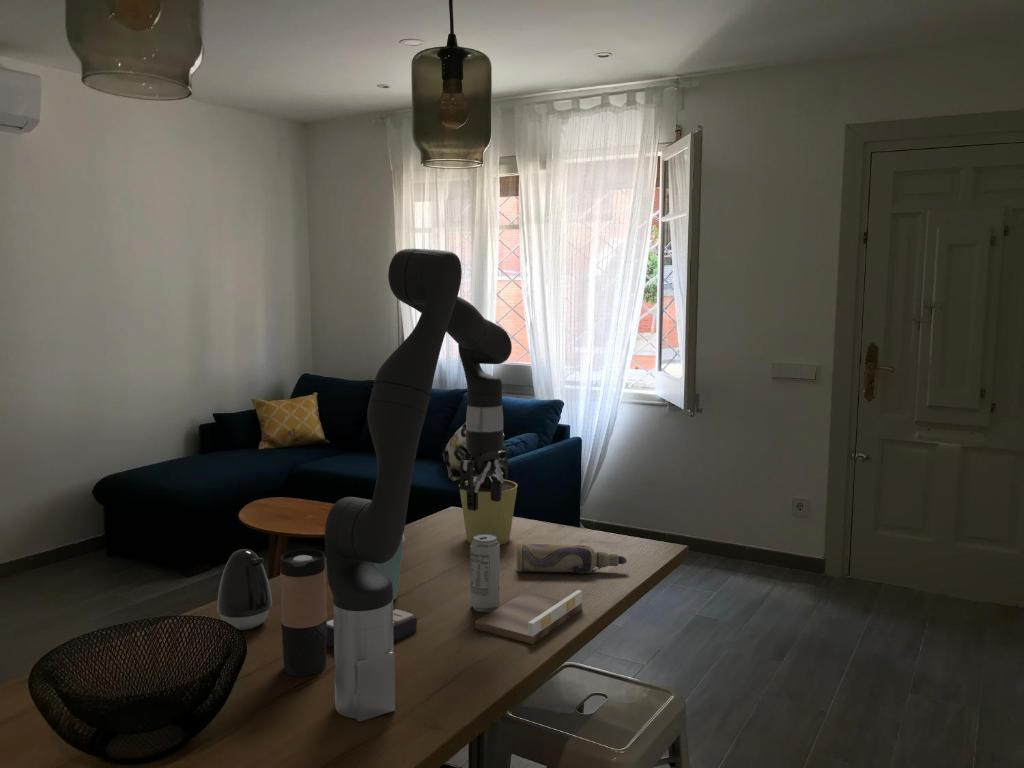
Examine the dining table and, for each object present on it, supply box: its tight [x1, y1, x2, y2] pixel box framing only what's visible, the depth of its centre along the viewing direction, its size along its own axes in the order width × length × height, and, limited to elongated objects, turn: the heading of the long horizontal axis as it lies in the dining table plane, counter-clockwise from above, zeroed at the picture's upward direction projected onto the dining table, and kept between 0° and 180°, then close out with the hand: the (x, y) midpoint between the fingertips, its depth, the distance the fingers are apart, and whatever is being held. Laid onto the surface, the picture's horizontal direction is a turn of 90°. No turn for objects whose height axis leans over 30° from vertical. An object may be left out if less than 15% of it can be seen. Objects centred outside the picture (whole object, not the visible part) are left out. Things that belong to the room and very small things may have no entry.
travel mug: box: [279, 548, 328, 677], centre depth 141 cm, size 8×8×20 cm
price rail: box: [528, 589, 583, 637], centre depth 160 cm, size 20×1×2 cm, turn 148°
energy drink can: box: [469, 534, 501, 613], centre depth 169 cm, size 6×6×15 cm
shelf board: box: [474, 589, 583, 645], centre depth 164 cm, size 20×13×2 cm, turn 148°
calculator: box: [326, 607, 418, 649], centre depth 155 cm, size 11×4×15 cm
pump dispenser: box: [216, 548, 273, 631], centre depth 159 cm, size 10×10×15 cm
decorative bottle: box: [516, 542, 628, 575], centre depth 191 cm, size 26×8×7 cm, turn 87°
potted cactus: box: [458, 440, 518, 546], centre depth 215 cm, size 15×15×30 cm
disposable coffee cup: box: [374, 532, 405, 601], centre depth 174 cm, size 11×11×15 cm
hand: (484, 505), depth 167 cm, fingers open, 8 cm apart
